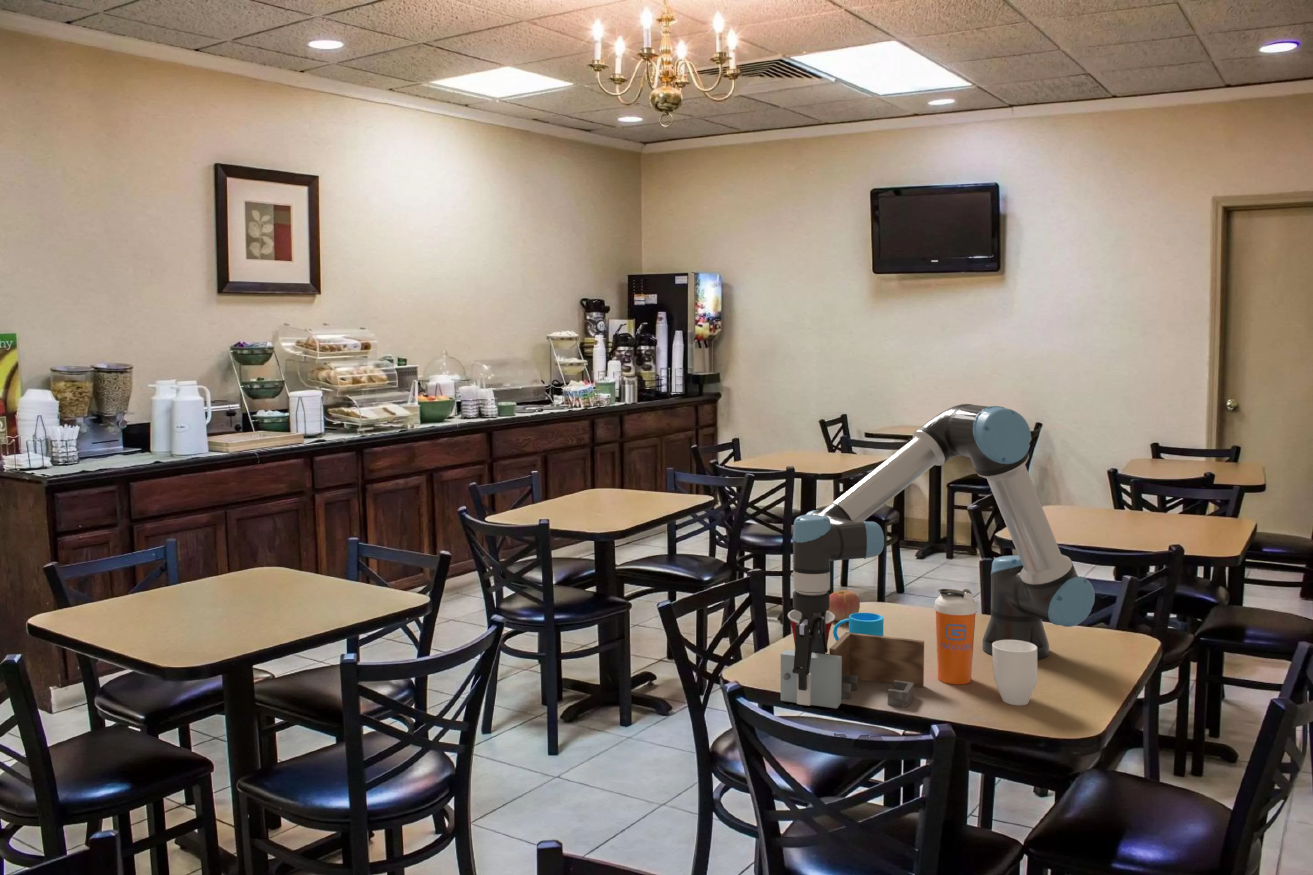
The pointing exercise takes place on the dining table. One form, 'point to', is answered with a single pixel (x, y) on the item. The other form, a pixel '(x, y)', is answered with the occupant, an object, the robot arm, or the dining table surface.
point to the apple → (844, 604)
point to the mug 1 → (862, 624)
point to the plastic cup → (796, 617)
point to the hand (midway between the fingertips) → (810, 696)
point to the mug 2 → (1015, 670)
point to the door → (814, 679)
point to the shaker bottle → (955, 635)
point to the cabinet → (881, 664)
